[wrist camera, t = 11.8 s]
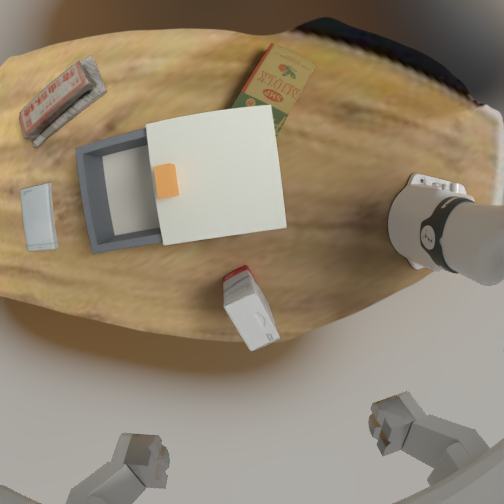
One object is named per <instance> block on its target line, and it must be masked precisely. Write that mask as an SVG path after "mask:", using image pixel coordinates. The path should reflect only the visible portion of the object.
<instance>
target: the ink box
mask: <svg viewBox="0 0 504 504" xmlns="http://www.w3.org/2000/svg"><path fill="white" fill-rule="evenodd" d="M223 293H224V306H223V307H224V309H225V310H226V312H227V314H228V316H229V317H230V319H231V321H232V322H233V324H234V325H235V327H236V329H237V330H238V332H239V334H240V335H241V337H242V338H243V340H244V342H245V343H246V345H247V346H248V348H249V349H250V351H253V350H256V349H259V348H261V347H264V346H266V345H268V344H270V343H273V342H275V341H277V340H279V339H280V337H279V334H278V331H277V328H276V324H275V321H274V318H273V315H272V312H271V309H270V306H269V304H268V302H267V300H266V298H265V296H264V295H263V293H262V291H261V289H260V287H259V286H258V284H257V282H256V280H255V279H254V277H253V275H252V273H251V272H250V270H249V268H248V266H246V265H245V266H243V267H241V268H239V269H237V270H235V271H233V272H231V273H230V274H228V275H226V276H225V277H223Z"/></svg>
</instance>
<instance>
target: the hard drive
mask: <svg viewBox="0 0 504 504" xmlns="http://www.w3.org/2000/svg"><path fill="white" fill-rule="evenodd" d="M20 193H21V205H22V215H23V223H24V231H25V237H26V244H27V249H28V251H38V250H50V249H57V248H58V243H57V237H56V229H55V221H54V213H53V202H52V189H51V183H47V184H42V185H38V186H33V187H29V188H25V189H22V190H20Z"/></svg>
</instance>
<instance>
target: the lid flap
mask: <svg viewBox="0 0 504 504" xmlns="http://www.w3.org/2000/svg"><path fill="white" fill-rule="evenodd" d="M146 131H147V140H148V149H149V157H150V165H151V173H152V180H153V187H154V193H155V200H156V206H157V212H158V218H159V223H160V229H161V234H162V239H163V245H170V244H177V243H183V242H190V241H197V240H203V239H210V238H217V237H224V236H231V235H238V234H245V233H252V232H259V231H266V230H273V229H281V228H287V226H286V216H285V207H284V199H283V190H282V182H281V174H280V166H279V158H278V151H277V143H276V136H275V129H274V122H273V115H272V108H271V105H261V106H251V107H242V108H233V109H225V110H218V111H212V112H205V113H199V114H193V115H188V116H182V117H177V118H172V119H168V120H163V121H158V122H154V123H150V124H146Z"/></svg>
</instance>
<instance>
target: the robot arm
mask: <svg viewBox="0 0 504 504" xmlns="http://www.w3.org/2000/svg"><path fill="white" fill-rule="evenodd" d="M420 180H422V181H420ZM388 232H389V237H390V240H391V243H392V245H393V246H394V248H395V249H396V251H397V252H398V253H400V254H401V255H402V256H404V257H406V258H407V259H408V261H409V263H410V264H411V266H412V267H413V268H414V269H417V270H418V269H421V268H423V267H426V268H429V269H431V270H434V271H440V270H442V269H444V270H446V271H449V272H452V273H460V274H462V275H464V276H466V277H468V278H470V279H472V280H474V281H476V282H477V283H479V284H481V285H485V286H492V285H496V284H498V283H500V282H502V281H503V280H504V205H501V206H498V205H485V204H478V203H475V201H474V199H473V197H472V196H469V195H467V194H466V191H465V188H464V186H462V185H460V184H456V183H453V182H449V181H446V180H442V179H438V178H434V177H430V176H426V175H422V174H418V173H413V174H412V175H411V177H410V179H409V181H408V184H407V186H406V187H405V188H404V189H403V190H402V191H401V192H400V193H399V194H398V196H397V197H396V198H395V200H394V202H393V204H392V206H391V209H390V213H389V218H388ZM371 411H372V415H371V416H370V417H369V429H370V432H371V434H372V437H374V438H376V439H378V442H377V446H378V448H379V450H380V452H381V454H382V456H385V455H388V454H391V453H393V452H396V451H398V450H401V449H402V451H404V452H406V453H407V454H409V455H411V456H413V457H414V458H416V459H418V460H420V461H422V462H423V463H425V464H427V465H429V466H431V467H433V468H434V470H433V471H432V473H431V474H430V476H429V477H428V479H427V481H428V483H429V485H430V486H429V487H428V488H426V489H424V490H422V491H420V492H418V493H415V494H413V495H411V496H409V497H407V498H405V499H402V500H401V501H398V502H395V503H393V504H504V438H503V439H502V440H501V441H499V442H498V443H497V444H496V445H494V446H493V447H492V448H489V447H488V445H487V444H486V443H485V441H484V440H483V439H482V438H481V436H480V435H479V434H478V433H477V432H476V430H474V429H471V428H468V427H465V426H462V425H459V424H456V423H453V422H449V421H447V420H444V419H441V418H438V417H436V416H433V415H428V416H427V415H426V414H425V412H424V411H423V410H422V408H421V407H420V406H419V405H418V403H417V402H416V401H415V399H414V398H413V397H412V395H411V394H410V393H409V392H407V391H406V392H403V393H401V394H398V395H394V396H392V397H389V398H386V399H384V400H381V401H378V402H375V403H373V404H372V406H371ZM161 442H162V440H161V438H160V437H159V435H144V434H143V435H142V434H131V433H122V434H121V435H120V437H119V440H118V443H117V446H116V449H115V452H114V455H113V458H112V461H111V462H107V463H106V464H105V465H103V466H102V467H101V468H99V469H98V470H97V471H95V472H94V473H93V474H91V475H90V476H89V477H87V478H86V479H85V480H84V481H82V482H81V483H79V484H78V485H76V486H75V487H74V488H72V489H71V491H70V494H69V496H68V499H67V502H66V504H132V503H133V502H134V501H135V500H136V499H137V498H138V497H139V496H140V495H141V493H142V492H143V491H144V490H145V489H146V488H145V487H148V488H164V489H165V488H166V483H167V477H168V476H167V475H166V473H165V470H167V469H168V468H169V463H170V459H169V453H168V450H167V449H166V447H165V446H163V445H162V444H161ZM0 504H41V503H38V502H36V501H34V500H32V499H30V498H28V497H26V496H23V495H21V494H19V493H17V492H15V491H14V490H12V489H10V488H8V487H6V486H3V485H0Z"/></svg>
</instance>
